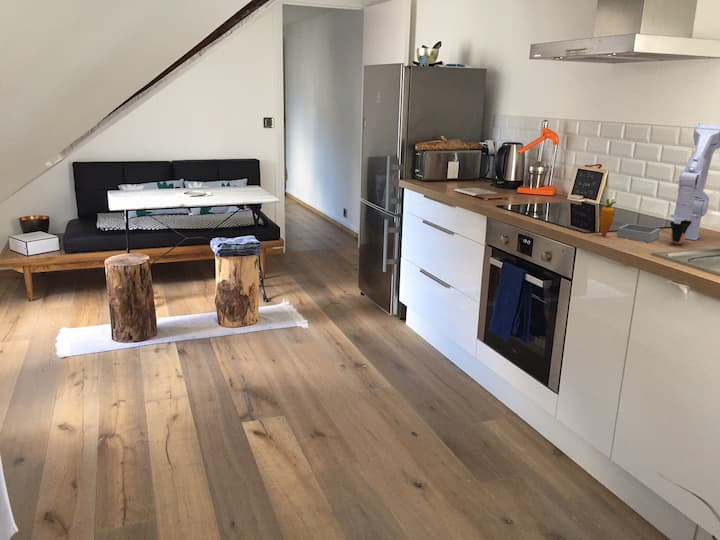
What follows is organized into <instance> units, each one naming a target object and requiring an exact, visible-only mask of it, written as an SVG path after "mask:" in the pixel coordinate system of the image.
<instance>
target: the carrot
mask: <svg viewBox="0 0 720 540" xmlns="http://www.w3.org/2000/svg"><path fill="white" fill-rule="evenodd" d="M605 201H606V206H603V207H602V208H601V211H600V220H599V224H600V226H599V227H600V232H601V235H602V237H605V236H606V235H607V234H608V233H609V231H610V229H611V226H612V223H613V220H614V216H615V209H614V208H613V207H612V206H613V205H614V204H616V203H617V202H616V201H615V199H614V198H613V199H612V200H611V201H610V198H609V197H607V198H606V200H605Z"/></svg>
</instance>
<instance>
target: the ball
mask: <svg viewBox="0 0 720 540" xmlns="http://www.w3.org/2000/svg"><path fill="white" fill-rule="evenodd" d="M685 238H686V237H685V234H684V233H682V236H681V238H680V241H679V242H675V241H673V240H672V233H671V234H670V241H671V242H672V243H673V244H675V245H681V244H683V243H684V242H685V240H686V239H685Z"/></svg>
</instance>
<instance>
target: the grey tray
mask: <svg viewBox="0 0 720 540" xmlns="http://www.w3.org/2000/svg"><path fill="white" fill-rule="evenodd" d="M660 231H661V228H658V227H652V226H647V225H646V226H645V225H640V224H634V223H627V224H624V225H622V226H619V227H617V232H616V238H621V239H627V240H632V241H638V242H643V243H649V244H650V243H652V242H653V241H655V240H656V239H658V238H659V237H660V234H661V232H660Z"/></svg>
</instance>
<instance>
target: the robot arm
mask: <svg viewBox="0 0 720 540" xmlns="http://www.w3.org/2000/svg"><path fill="white" fill-rule="evenodd" d="M692 135H693V136H692V137H693V142H694V146H695V150H694V153H693V155H691V156H690V157H688V160H687V162H686V165H685V168H684V170H683V172H681V173H680V175H679V177H678V187H677V192H678V193H677V199H676V203H675V208H674V213H673V214H670V215H669V216H670V217H671V218H673V219H674V221H670V223H669V225H670V227H671V231H672V233H671V234H672V240H673V241H675V242H679V241H680V238H681V236H682V233H684V234H685V237H686V238H685V240H692V241H696V240H698V239H699V238H701V235H699V230H700V226H701V222H702V217H704V216H706V215H707V212H708V210H709V203H710V197H709V195H708V194H707V193H706V192H705V191H704V190H705V185H706V182H707V177H708V175H709V174H708V173H709V169H710V167H711V161H712V158H713V155H714V153H715V151H716V150H718V149H720V124H710V123H709V124H708V123H707V124H706V123H697V124H696V125H695V127H694V129H693V134H692Z"/></svg>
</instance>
